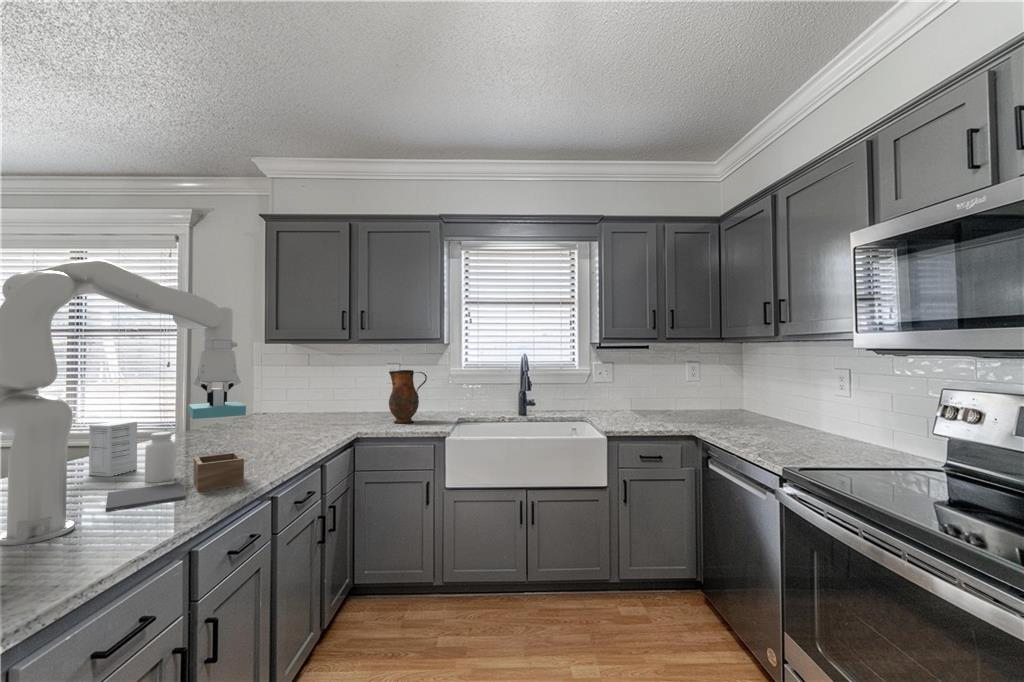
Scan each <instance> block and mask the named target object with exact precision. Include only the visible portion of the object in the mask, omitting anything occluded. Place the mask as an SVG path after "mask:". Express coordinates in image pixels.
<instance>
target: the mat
mask: <svg viewBox="0 0 1024 682" xmlns="http://www.w3.org/2000/svg"><path fill="white" fill-rule="evenodd" d="M184 499H186V494H185V492H184V490H183V487H182V484H181V482H172V483H165V484H159V485H152V486H151V485H150V486H144V487H137V488H130V489H123V490H117V491H108V492H107V499H106V504H105V512H110V511H116V509H118V510H122V508H124V509H129V507H130V508H135V506H136V507H142V506H141V505H143V506H148V504H149V505H155V504H160V503H165V502H172V501H177V500H179V501H180V500H184ZM154 503H155V504H154Z"/></svg>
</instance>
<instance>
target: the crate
mask: <svg viewBox="0 0 1024 682" xmlns="http://www.w3.org/2000/svg"><path fill="white" fill-rule="evenodd" d="M244 475H245V458H244V457H243V456H242V455H241V454H240V453H239V452H238V451H237V452H235V451H234V452H226V453H218V454H217V453H216V454H209V455H202V456H201V455H200V456H194V457H193V481H192V482H193V485H194V486H195V489H196V491H197V492H205V491H210V490H216V489H217V490H218V489H224V488H230V487H237V486H243V485H244V483H245V481H244V480H245V479H244Z"/></svg>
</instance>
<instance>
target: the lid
mask: <svg viewBox="0 0 1024 682" xmlns="http://www.w3.org/2000/svg"><path fill="white" fill-rule="evenodd" d="M212 392H213V405H211V406H210V405H209V403H207V402H205V403H192V404H191V403H189V404H188V406H187V407H188V413H187V414H188V415H189V416H190V419H192V420H195V419H196V420H197V419H211V418H212V419H213V418H226V417H227V418H228V417H239V416H241V417H242V416H247V414H246V413H247V412H246V411H247V405H246V404H244V403H242V402H240V401H227V402H225V405H224V390H223V388H221V387H212Z"/></svg>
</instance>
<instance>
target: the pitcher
mask: <svg viewBox="0 0 1024 682" xmlns="http://www.w3.org/2000/svg"><path fill="white" fill-rule="evenodd" d="M388 373H389V375H390V378H391V382H392V383H391V384H392V385H391V386H392V387H391V388H392V389H391V390H392V391H391V393H390V396H389V399H388V408H389V411H390V413H391V414H392V416H393V417H394V418H395V420H394V421H393V424H399V425H403V424H404V425H407V424H408V425H409V424H413V423H414V420H412V418H413V417H414V415H415V414H416V413H417V411H418V408H419V403H420V400H419V393H418V391H419V389H420V388H421V387H422V386H423V385H424V384H425V383H426V382H427V379H428V378H427V374H426V373H424V372H422V371H415V370H413V369H402V370H393V371H392V370H390V371H389V372H388ZM417 373H419V374H423V375H424V378H425V379H424V381H423V382H422V383H421V384H420V385H419V386H418V387H417V389H416V387H415V383H414V375H415V374H417Z"/></svg>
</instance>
